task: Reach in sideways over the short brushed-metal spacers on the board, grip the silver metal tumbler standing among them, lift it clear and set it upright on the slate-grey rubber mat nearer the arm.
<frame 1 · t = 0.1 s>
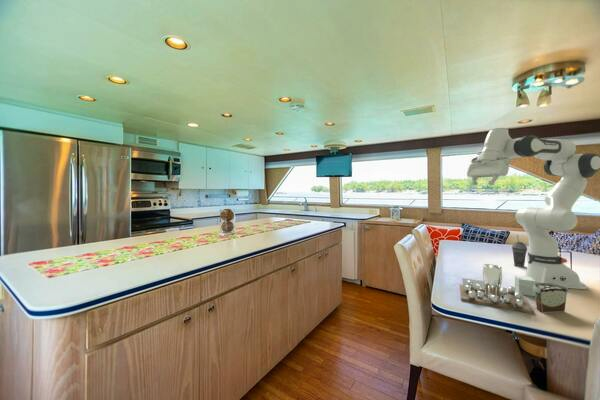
hand: (482, 185, 123), 52 cm above the table, tool tilted 20°, fingers open, 8 cm apart
skincare box: (524, 293, 116), on the table
grey mat: (477, 284, 127), on the table
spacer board: (492, 298, 110), on the table
beverage cup: (519, 266, 154), on the table
silver metal tumbler: (492, 299, 110), resting on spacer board
food container: (545, 309, 101), on the table
spacers: (492, 294, 110), in the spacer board
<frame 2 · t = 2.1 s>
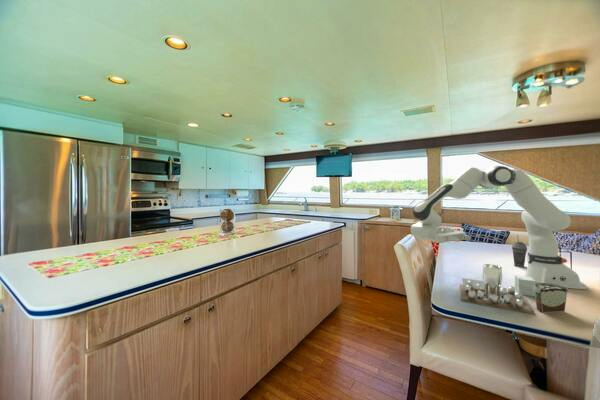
hand: (464, 239, 120), 25 cm above the table, tool horizontal, fingers open, 8 cm apart
nothing on the table moved.
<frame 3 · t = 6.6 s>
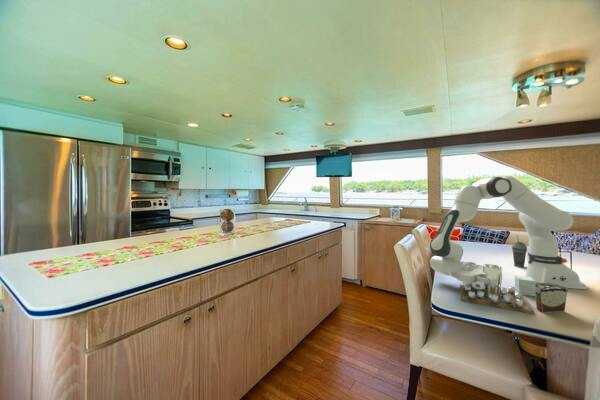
hand: (494, 279, 109), 9 cm above the table, tool horizontal, fingers closed on silver metal tumbler, 6 cm apart
silver metal tumbler: (492, 299, 110), resting on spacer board, touching gripper
everything else where it was.
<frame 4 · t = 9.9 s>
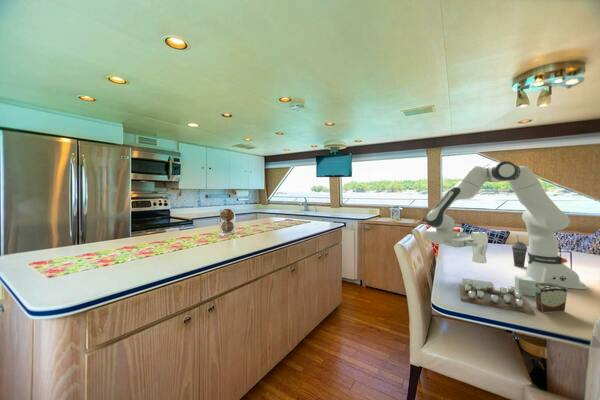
hand: (481, 244, 124), 22 cm above the table, tool horizontal, fingers closed on silver metal tumbler, 6 cm apart
silver metal tumbler: (479, 261, 125), point 12 cm above the table, touching gripper
everything else where it was.
when the fingers open (11 cm above the table, at t = 13.4 s): silver metal tumbler moves 3 cm, resting on grey mat.
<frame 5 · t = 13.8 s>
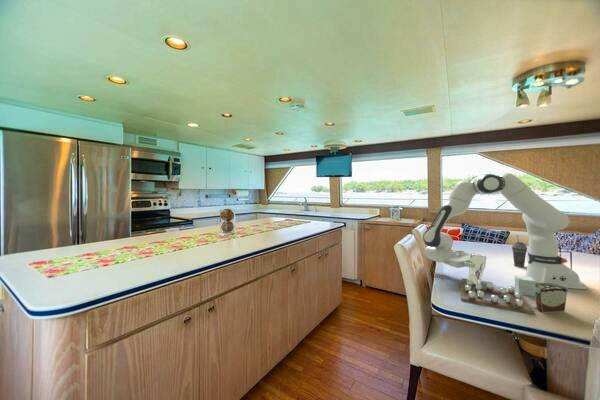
hand: (479, 264, 126), 11 cm above the table, tool horizontal, fingers open, 8 cm apart
silver metal tumbler: (473, 283, 126), point 1 cm above the table, touching grey mat, gripper
everything else where it was.
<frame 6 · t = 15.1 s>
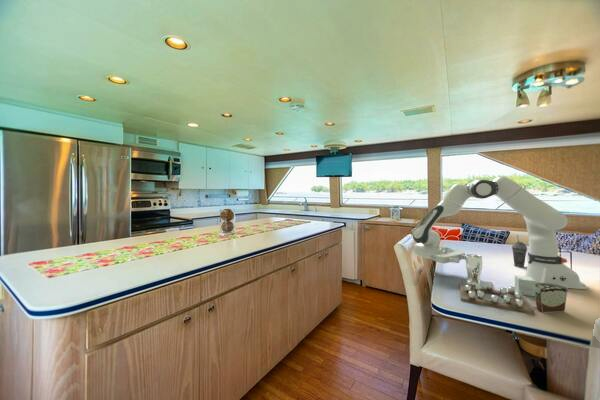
hand: (464, 260, 132), 11 cm above the table, tool horizontal, fingers open, 8 cm apart
silver metal tumbler: (473, 284, 126), resting on grey mat
everything else where it was.
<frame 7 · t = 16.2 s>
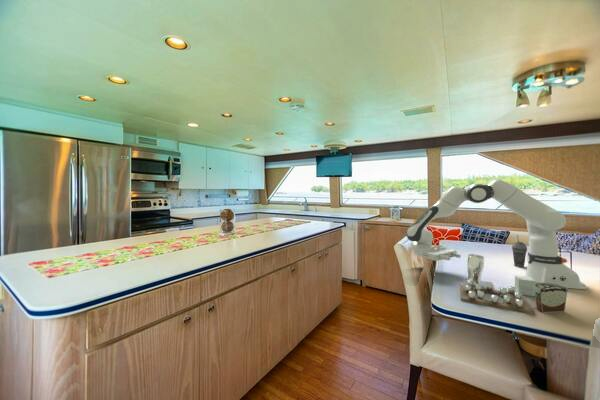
hand: (454, 257, 137), 11 cm above the table, tool horizontal, fingers open, 8 cm apart
nothing on the table moved.
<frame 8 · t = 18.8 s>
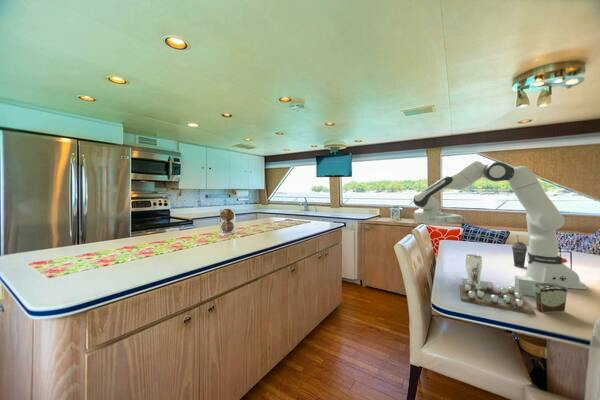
hand: (460, 220, 140), 32 cm above the table, tool horizontal, fingers open, 8 cm apart
at the end: silver metal tumbler inside the target area on the grey mat (2.8 cm from its centre), point 0.1 cm above the grey mat's base; silver metal tumbler tilted 0°; the gripper is holding nothing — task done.
